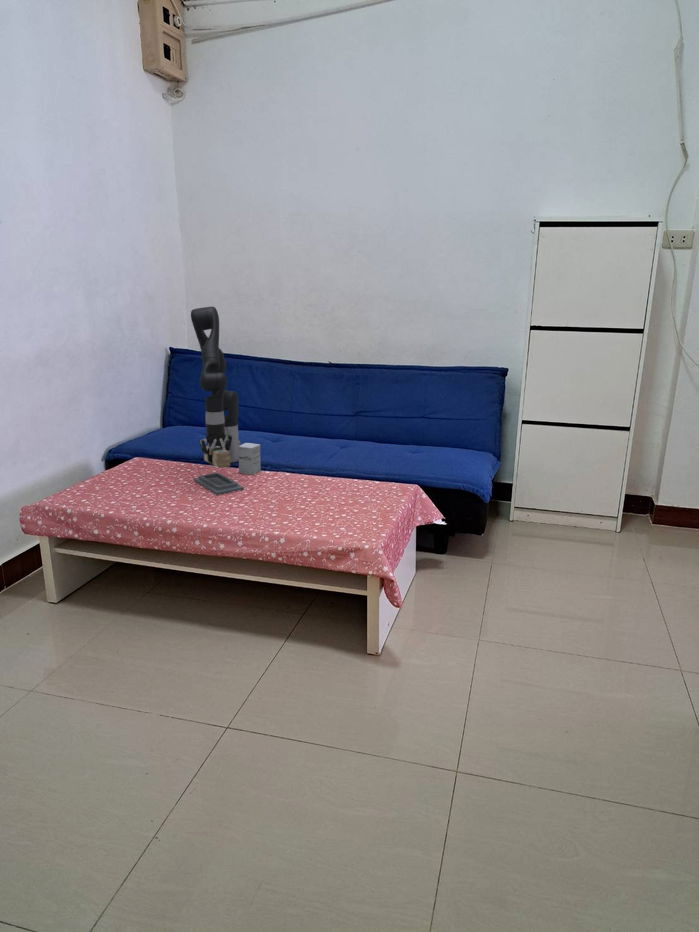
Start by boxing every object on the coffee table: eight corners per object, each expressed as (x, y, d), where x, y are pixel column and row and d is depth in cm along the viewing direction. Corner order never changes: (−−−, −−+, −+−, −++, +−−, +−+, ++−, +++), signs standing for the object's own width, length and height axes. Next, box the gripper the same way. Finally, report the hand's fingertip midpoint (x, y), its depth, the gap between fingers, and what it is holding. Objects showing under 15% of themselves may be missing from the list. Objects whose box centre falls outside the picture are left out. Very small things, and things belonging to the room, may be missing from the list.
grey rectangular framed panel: (193, 481, 281) (193, 475, 281) (219, 476, 288) (219, 470, 287) (216, 495, 265) (216, 489, 264) (243, 489, 272) (243, 483, 271)
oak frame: (204, 460, 277) (203, 445, 276) (215, 458, 280) (214, 444, 279) (219, 468, 267) (218, 453, 265) (230, 466, 270) (229, 451, 268)
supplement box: (238, 473, 293) (237, 446, 289) (247, 468, 299) (246, 442, 296) (253, 475, 290) (252, 447, 287) (261, 470, 297) (260, 443, 293)
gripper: (226, 417, 275) (228, 457, 280) (194, 422, 267) (197, 462, 272) (235, 421, 270) (236, 461, 275) (202, 425, 261) (204, 466, 266)
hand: (216, 461), depth 273 cm, fingers closed on oak frame, 5 cm apart
